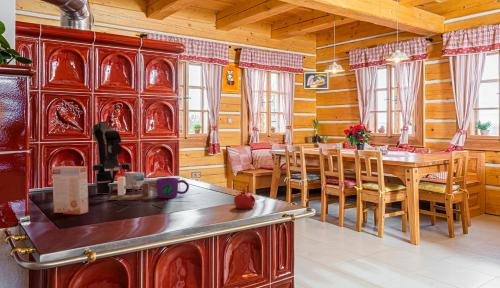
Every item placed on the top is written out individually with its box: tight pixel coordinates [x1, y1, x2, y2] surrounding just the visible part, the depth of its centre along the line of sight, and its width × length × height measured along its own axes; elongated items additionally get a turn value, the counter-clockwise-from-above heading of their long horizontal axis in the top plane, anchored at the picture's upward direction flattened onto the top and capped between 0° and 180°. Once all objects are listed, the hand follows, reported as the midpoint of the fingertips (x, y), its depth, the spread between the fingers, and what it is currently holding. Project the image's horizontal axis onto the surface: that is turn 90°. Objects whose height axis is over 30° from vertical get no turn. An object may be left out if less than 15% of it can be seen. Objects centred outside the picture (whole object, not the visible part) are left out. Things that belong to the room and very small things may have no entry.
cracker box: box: [51, 165, 89, 215], centre depth 175 cm, size 14×6×21 cm, turn 74°
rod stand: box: [108, 181, 151, 201], centre depth 211 cm, size 20×10×8 cm, turn 100°
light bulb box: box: [124, 171, 145, 189], centre depth 243 cm, size 11×7×11 cm, turn 58°
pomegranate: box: [233, 187, 256, 210], centre depth 180 cm, size 10×10×9 cm
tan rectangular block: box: [117, 176, 127, 196], centre depth 210 cm, size 3×7×9 cm, turn 10°
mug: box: [156, 177, 190, 200], centre depth 214 cm, size 17×11×10 cm, turn 104°
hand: (112, 183), depth 209 cm, fingers closed
